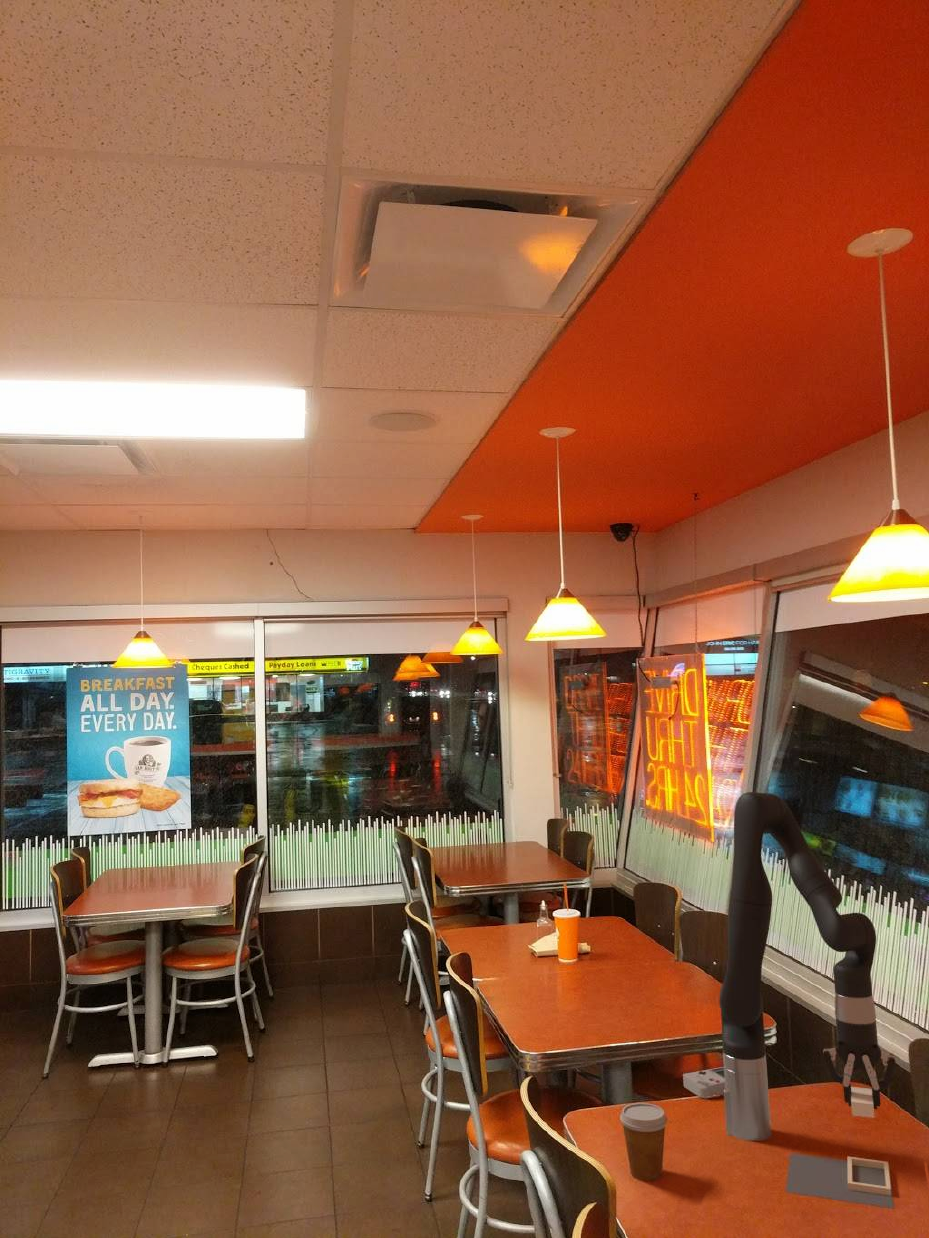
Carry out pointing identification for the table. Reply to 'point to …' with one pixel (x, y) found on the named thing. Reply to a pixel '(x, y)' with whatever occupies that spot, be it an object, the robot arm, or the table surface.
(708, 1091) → the handheld gaming device
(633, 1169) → the disposable coffee cup
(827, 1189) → the mat
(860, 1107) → the tile
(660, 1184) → the table surface
